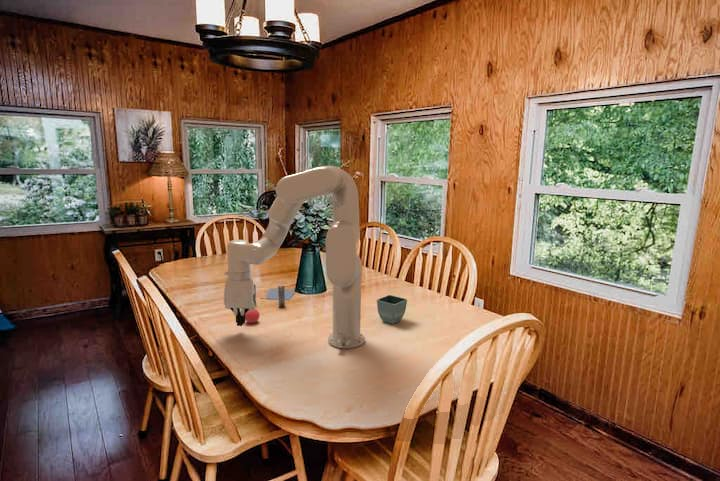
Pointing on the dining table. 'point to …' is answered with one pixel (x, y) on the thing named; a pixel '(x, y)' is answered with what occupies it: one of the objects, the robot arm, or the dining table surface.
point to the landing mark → (274, 294)
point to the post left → (255, 294)
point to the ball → (252, 316)
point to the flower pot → (391, 308)
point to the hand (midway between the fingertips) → (240, 324)
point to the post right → (281, 296)
